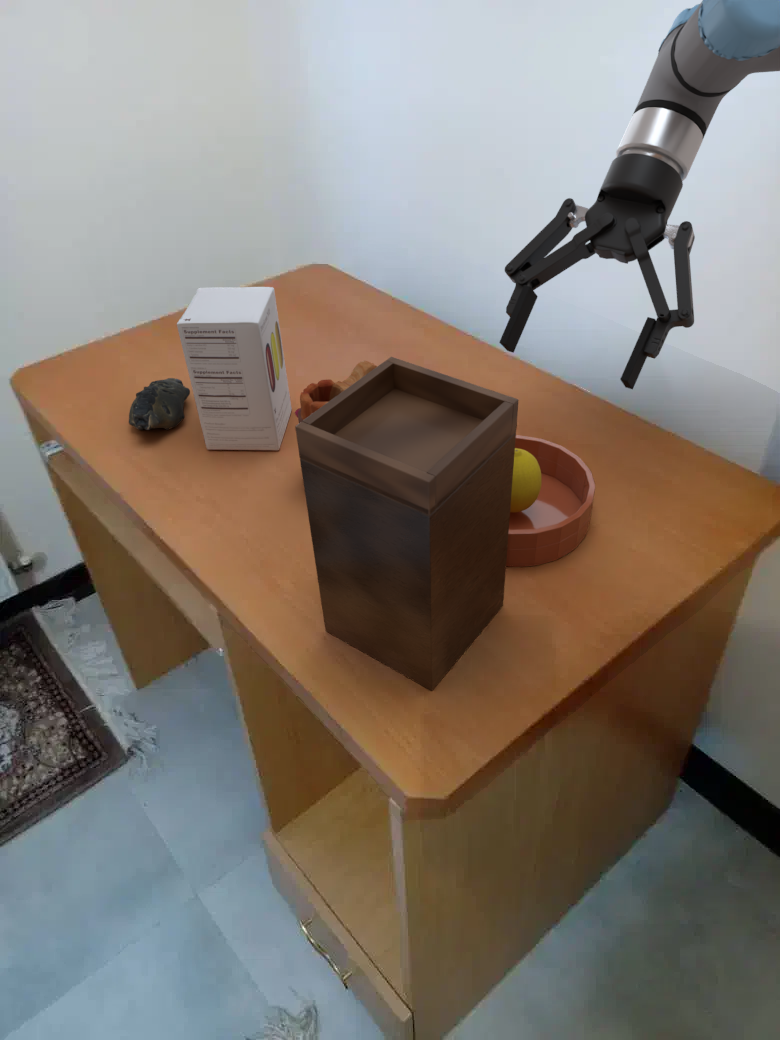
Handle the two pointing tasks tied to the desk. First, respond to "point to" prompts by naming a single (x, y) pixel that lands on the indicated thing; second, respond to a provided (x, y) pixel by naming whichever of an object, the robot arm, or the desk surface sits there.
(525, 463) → the lemon
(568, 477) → the bowl
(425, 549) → the stand
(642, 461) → the desk surface
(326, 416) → the tray
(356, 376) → the mug
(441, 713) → the desk surface
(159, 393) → the stone
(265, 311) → the supplement box
